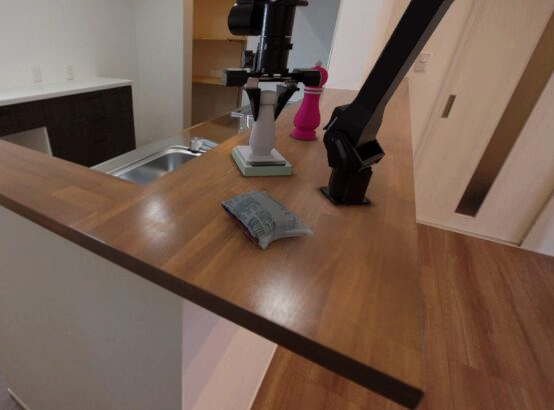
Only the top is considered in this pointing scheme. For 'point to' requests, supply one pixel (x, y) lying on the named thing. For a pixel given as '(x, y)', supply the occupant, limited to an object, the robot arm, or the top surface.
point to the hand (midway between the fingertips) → (264, 121)
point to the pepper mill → (309, 109)
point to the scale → (260, 162)
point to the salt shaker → (264, 125)
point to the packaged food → (264, 218)
